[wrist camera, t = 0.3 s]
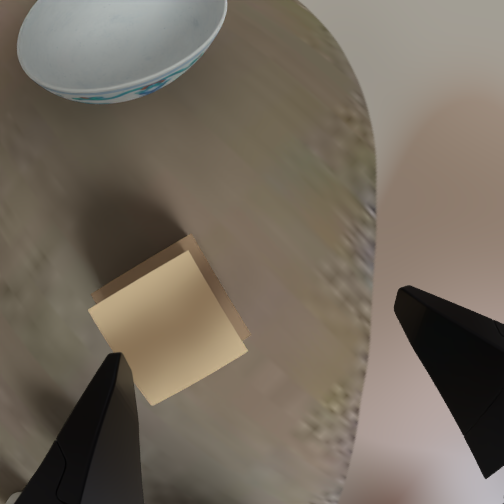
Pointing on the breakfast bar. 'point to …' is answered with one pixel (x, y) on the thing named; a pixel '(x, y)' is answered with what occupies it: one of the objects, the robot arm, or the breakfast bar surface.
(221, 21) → the chinaware
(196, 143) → the breakfast bar surface
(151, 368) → the top block
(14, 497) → the milk bottle
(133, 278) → the base block
